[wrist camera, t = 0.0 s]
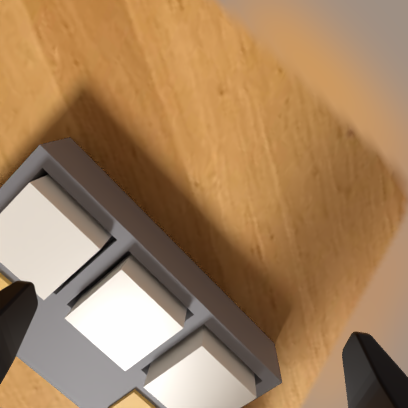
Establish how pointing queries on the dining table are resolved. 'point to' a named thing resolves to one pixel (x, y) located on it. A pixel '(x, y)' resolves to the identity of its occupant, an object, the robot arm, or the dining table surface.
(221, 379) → the key
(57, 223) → the key
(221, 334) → the key panel
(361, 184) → the dining table surface
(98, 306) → the key middle
